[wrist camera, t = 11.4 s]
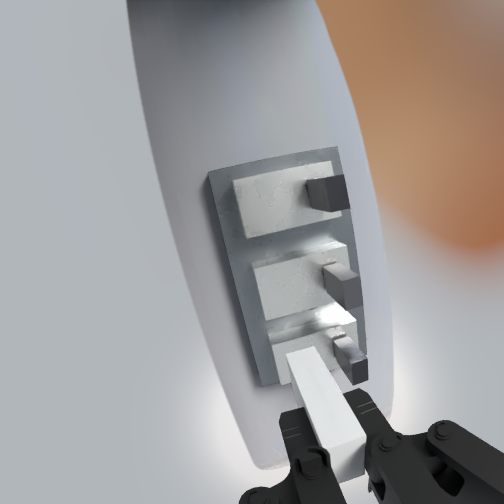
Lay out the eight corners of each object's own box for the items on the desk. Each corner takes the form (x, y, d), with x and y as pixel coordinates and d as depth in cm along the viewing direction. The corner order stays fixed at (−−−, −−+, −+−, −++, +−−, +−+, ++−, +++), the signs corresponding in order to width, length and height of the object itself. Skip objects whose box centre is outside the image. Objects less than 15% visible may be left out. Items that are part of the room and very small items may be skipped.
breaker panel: (208, 173, 30) (203, 164, 20) (330, 148, 30) (372, 134, 21) (260, 377, 35) (272, 430, 25) (360, 347, 36) (396, 388, 26)
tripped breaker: (322, 266, 28) (342, 281, 23) (338, 262, 28) (360, 275, 23) (326, 292, 28) (345, 310, 24) (342, 288, 28) (363, 305, 24)
